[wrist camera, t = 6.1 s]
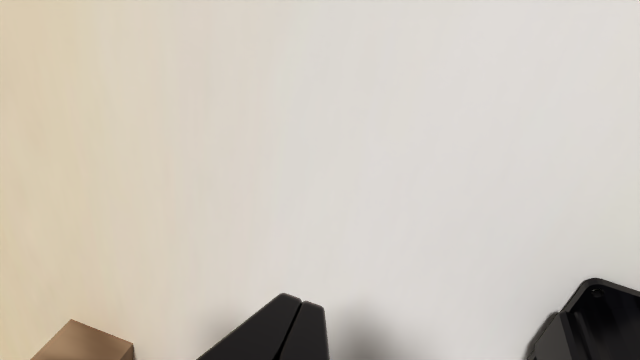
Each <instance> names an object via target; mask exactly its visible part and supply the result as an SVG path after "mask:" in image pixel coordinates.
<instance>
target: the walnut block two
mask: <svg viewBox="0 0 640 360" xmlns="http://www.w3.org/2000/svg"><path fill="white" fill-rule="evenodd" d="M31 360H133V343H131V342H128V341H125V340H123V339H120V338H118V337H115V336H113V335H110V334H108V333H105V332H102V331H100V330H97V329H95V328H92V327H90V326H87V325H85V324H82V323H80V322H77V321H74V320H72V319H71V320H70V321H69V322H68V323H67V324H66V325H65V326H64V327H63V328H62V329H61V330H60V331H59V332H58V333H57V334H56V335H55V336H54V337H53V338H52V339H51V340H50V341H49V342H48V343H47V344H46V345H45V346H44V347H43V348H42V349H41V350H40V351H39V352H38V353H37V354H36V355H35V356H34V357H33V358H32V359H31Z"/></svg>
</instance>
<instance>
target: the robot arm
mask: <svg viewBox="0 0 640 360" xmlns="http://www.w3.org/2000/svg"><path fill="white" fill-rule="evenodd" d="M596 288H599V289H600V290H599V291H592V290H593V289H596ZM534 348H535V349H534V351H533V352H532V353H531V355H530V356H529V358H528V359H527V360H640V292H639V291H636V290H633V289H630V288H627V287H624V286H621V285H618V284H615V283H612V282H609V281H606V280H603V279H599V278H591V279H589V280H586V281H585V282H584V283H583V284H582V286H581V287H580V289H579V290H578V291H577V293H576V294H575V295H574V297H573V298H572V299H571V301H570V302H569V303H568V305H567V306H566V307H565V309H564V310H563V311H561V312H559V313H558V314H557V315H556V317H555V318H554V319H553V321H552V322H551V323H550V325H549V326H548V327H547V329H546V330H545V332H544V333H543V334H542V336H541V337H540V338H539V340H538V341H537V342H536V344H535V346H534ZM196 360H330V358H329V349H328V339H327V330H326V320H325V311H324V308H323V307H322V306H320V305H317V304H314V303H311V302H308V301H304V302H302V301H301V299H300V298H297V297H294V296H292V295H289V294H286V293H281V294H279V295H278V296H277V297H275V298H274V299H273V300H272V301H270V302H269V303H268V304H266V305H265V306H264V307H263V308H261V309H260V310H259V311H258V312H256V313H255V314H254V315H252V316H251V317H250V318H249V319H247V320H246V321H245V322H244V323H242V324H241V325H240V326H238V327H237V328H236V329H235V330H233V331H232V332H231V333H230V334H228V335H227V336H226V337H224V338H223V339H222V340H221V341H219V342H218V343H217V344H216V345H214V346H213V347H212V348H210V349H209V350H208V351H207V352H205V353H204V354H203V355H202V356H200V357H199V358H198V359H196Z"/></svg>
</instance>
